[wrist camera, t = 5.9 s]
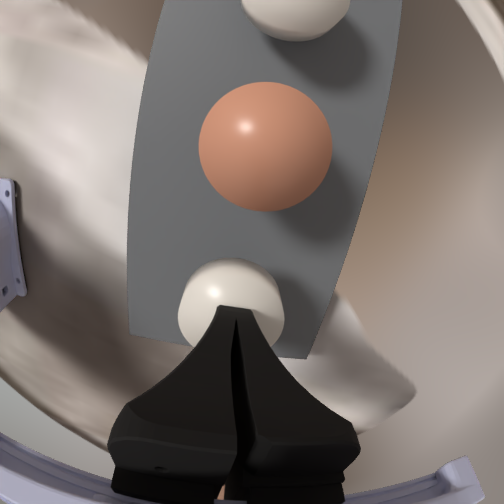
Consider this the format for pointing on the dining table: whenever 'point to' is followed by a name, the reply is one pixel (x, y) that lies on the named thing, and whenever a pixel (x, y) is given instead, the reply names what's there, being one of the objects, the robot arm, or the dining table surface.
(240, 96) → the middle button
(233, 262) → the inner button
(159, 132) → the grey flat board
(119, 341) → the dining table surface
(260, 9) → the outer button
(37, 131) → the dining table surface
